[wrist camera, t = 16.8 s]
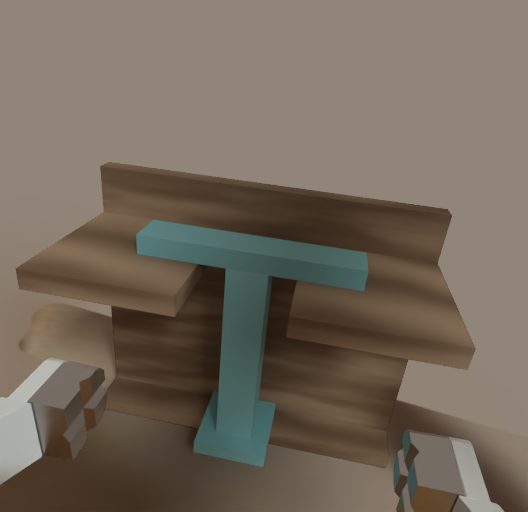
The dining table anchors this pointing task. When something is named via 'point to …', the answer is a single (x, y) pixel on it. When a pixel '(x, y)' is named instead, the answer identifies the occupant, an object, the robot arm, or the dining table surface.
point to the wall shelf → (280, 308)
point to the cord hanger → (247, 319)
